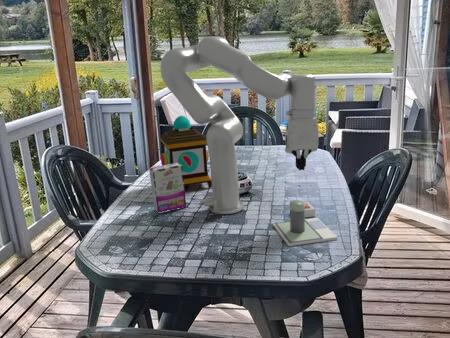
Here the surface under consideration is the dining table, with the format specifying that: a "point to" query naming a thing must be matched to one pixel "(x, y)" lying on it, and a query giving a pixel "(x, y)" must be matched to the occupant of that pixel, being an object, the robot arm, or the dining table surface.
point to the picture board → (305, 232)
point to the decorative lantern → (186, 151)
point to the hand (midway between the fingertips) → (300, 168)
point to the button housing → (309, 211)
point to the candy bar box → (167, 187)
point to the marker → (297, 216)
